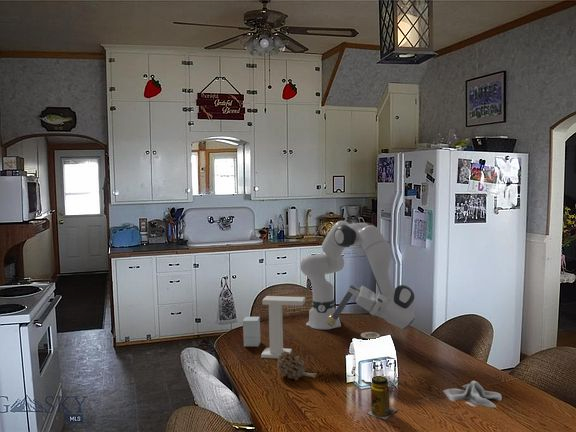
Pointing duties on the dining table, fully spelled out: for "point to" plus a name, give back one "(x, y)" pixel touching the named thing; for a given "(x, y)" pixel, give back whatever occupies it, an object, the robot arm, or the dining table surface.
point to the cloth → (473, 395)
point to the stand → (278, 323)
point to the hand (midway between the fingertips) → (349, 287)
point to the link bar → (340, 308)
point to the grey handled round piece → (292, 366)
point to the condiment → (380, 398)
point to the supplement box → (251, 331)
